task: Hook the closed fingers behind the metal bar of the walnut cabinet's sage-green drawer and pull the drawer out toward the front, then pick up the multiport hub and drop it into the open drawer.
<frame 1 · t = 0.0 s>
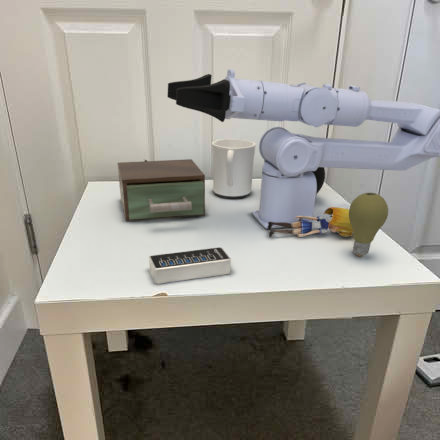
hand: (172, 93, 68), 22 cm above the table, tool horizontal, fingers open, 7 cm apart
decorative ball: (296, 200, 94), on the table
light bulb: (359, 256, 71), on the table
cabinet: (161, 207, 88), on the table
mug: (231, 195, 96), on the table
multiport hub: (190, 273, 65), on the table
toy car: (163, 167, 101), point 3 cm above the table
figurine: (311, 236, 78), on the table
drawer: (164, 196, 82), point 4 cm above the table, slide at 0.5 cm
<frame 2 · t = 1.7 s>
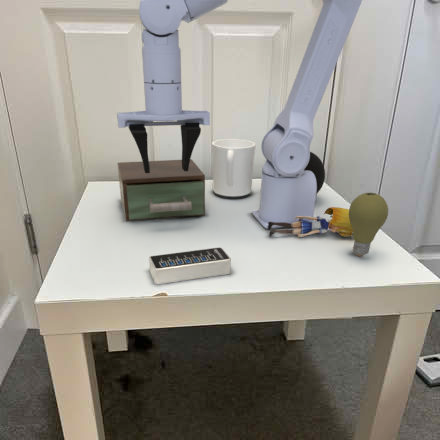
hand: (166, 170, 76), 9 cm above the table, tool pointing down, fingers open, 6 cm apart
nothing on the table moved.
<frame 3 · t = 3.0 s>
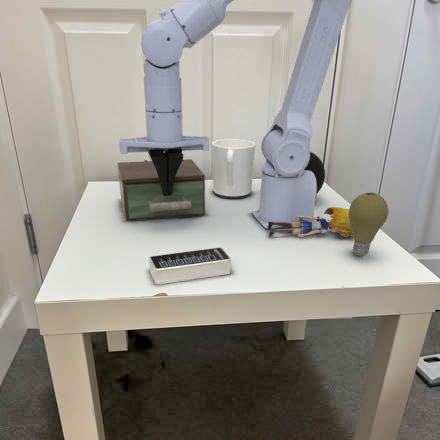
hand: (166, 194, 78), 5 cm above the table, tool pointing down, fingers closed, pressing on drawer
drawer: (163, 195, 83), point 4 cm above the table, slide at 0.0 cm, touching cabinet, gripper
everything else where it was.
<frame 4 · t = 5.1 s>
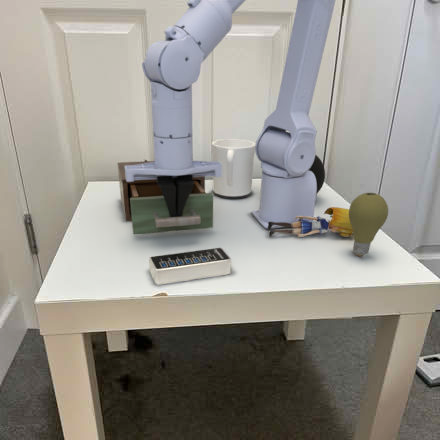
hand: (175, 222, 73), 3 cm above the table, tool pointing down, fingers closed, pressing on drawer
drawer: (170, 208, 77), point 4 cm above the table, slide at 7.3 cm, touching gripper
everything else where it was.
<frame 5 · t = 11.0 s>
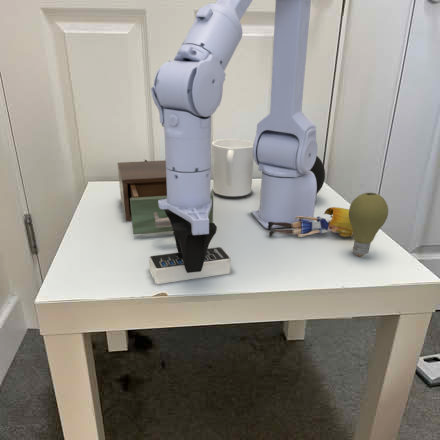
hand: (189, 262, 64), 1 cm above the table, tool pointing down, fingers closed on multiport hub, 4 cm apart
multiport hub: (190, 273, 65), on the table, touching gripper
drawer: (170, 208, 77), point 4 cm above the table, slide at 7.3 cm
everything else where it was.
when the fingers open (8 cm above the table, at t = 14.7 s): multiport hub stays where it is, resting on drawer.
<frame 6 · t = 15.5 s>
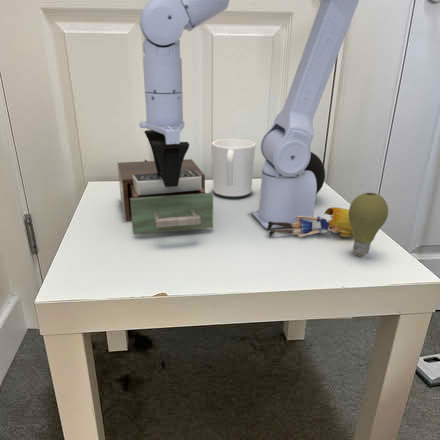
hand: (167, 179, 76), 8 cm above the table, tool pointing down, fingers open, 7 cm apart
multiport hub: (167, 189, 77), point 6 cm above the table, touching drawer
drawer: (170, 208, 77), point 4 cm above the table, slide at 7.3 cm, touching multiport hub
everything else where it was.
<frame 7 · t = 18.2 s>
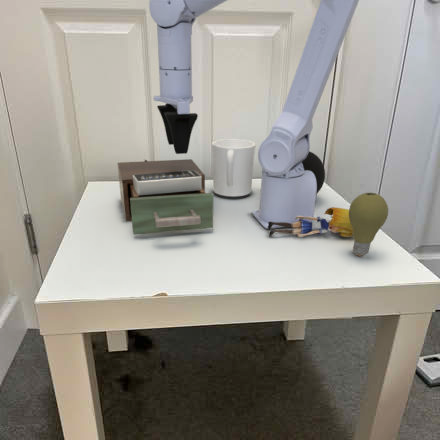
hand: (177, 148, 86), 10 cm above the table, tool pointing down, fingers open, 7 cm apart
nothing on the table moved.
at the end: drawer slide at 7.3 cm; multiport hub inside the target area in the drawer (4.0 cm from its centre), point 6.3 cm above the cabinet's base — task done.
